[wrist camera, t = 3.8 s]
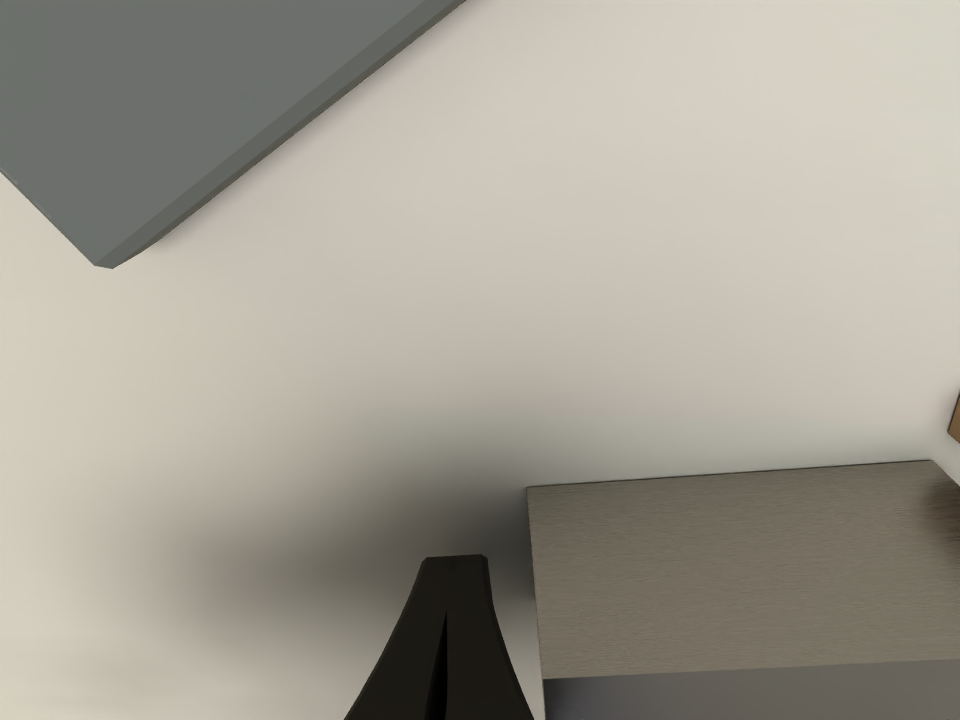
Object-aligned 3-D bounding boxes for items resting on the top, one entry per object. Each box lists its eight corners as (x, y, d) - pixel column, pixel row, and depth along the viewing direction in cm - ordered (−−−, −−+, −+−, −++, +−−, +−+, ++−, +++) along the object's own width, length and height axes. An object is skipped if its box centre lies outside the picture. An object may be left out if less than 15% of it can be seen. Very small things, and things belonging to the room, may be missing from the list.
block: (894, 582, 14) (1046, 787, 10) (535, 602, 14) (551, 805, 10) (932, 460, 12) (1129, 650, 8) (526, 487, 12) (542, 678, 9)
